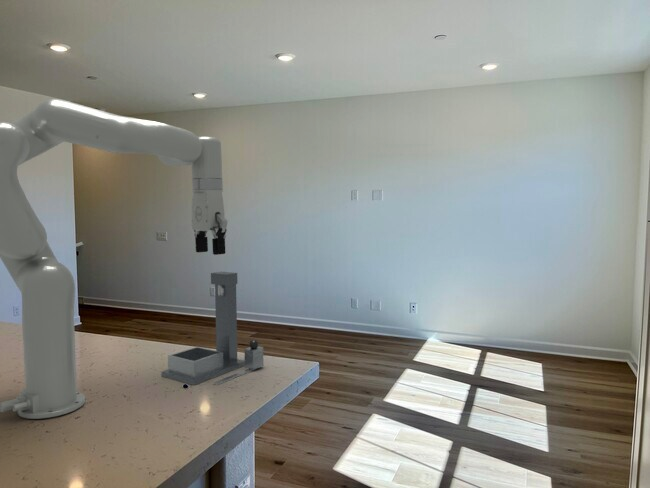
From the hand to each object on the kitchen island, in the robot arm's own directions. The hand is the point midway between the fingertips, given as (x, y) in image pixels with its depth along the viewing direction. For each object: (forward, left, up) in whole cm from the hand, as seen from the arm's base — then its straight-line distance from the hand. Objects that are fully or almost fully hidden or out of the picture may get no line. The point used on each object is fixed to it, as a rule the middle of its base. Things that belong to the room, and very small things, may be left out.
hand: (210, 253), depth 123 cm
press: (-1, +2, -31) cm, 31 cm away
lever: (+7, -8, -31) cm, 33 cm away
